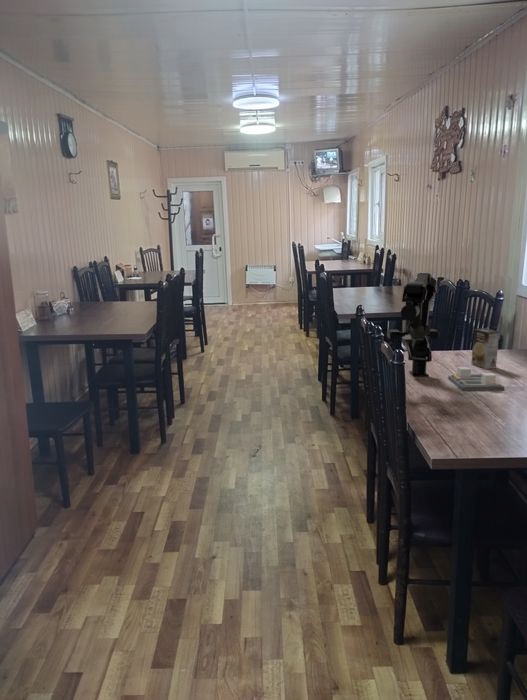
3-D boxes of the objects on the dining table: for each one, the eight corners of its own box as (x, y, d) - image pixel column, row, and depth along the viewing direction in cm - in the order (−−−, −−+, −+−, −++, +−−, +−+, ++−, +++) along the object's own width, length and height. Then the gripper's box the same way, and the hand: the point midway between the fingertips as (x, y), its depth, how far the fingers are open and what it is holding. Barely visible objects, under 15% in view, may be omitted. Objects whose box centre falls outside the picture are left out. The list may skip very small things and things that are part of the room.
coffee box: (470, 364, 251) (473, 328, 247) (481, 362, 253) (484, 327, 249) (485, 369, 243) (488, 332, 239) (497, 367, 245) (500, 331, 241)
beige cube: (480, 382, 218) (481, 372, 218) (491, 382, 218) (492, 372, 218) (484, 385, 215) (485, 375, 214) (494, 385, 215) (495, 375, 214)
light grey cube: (457, 376, 227) (457, 367, 226) (466, 376, 227) (467, 367, 226) (460, 379, 224) (460, 369, 223) (470, 379, 224) (470, 369, 223)
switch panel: (448, 378, 229) (448, 374, 229) (487, 378, 229) (487, 373, 229) (462, 390, 214) (462, 385, 213) (504, 389, 214) (504, 384, 213)
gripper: (394, 320, 206) (392, 361, 209) (445, 319, 206) (442, 360, 210) (387, 315, 217) (385, 354, 220) (435, 314, 217) (433, 353, 221)
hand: (411, 356), depth 217 cm, fingers closed
